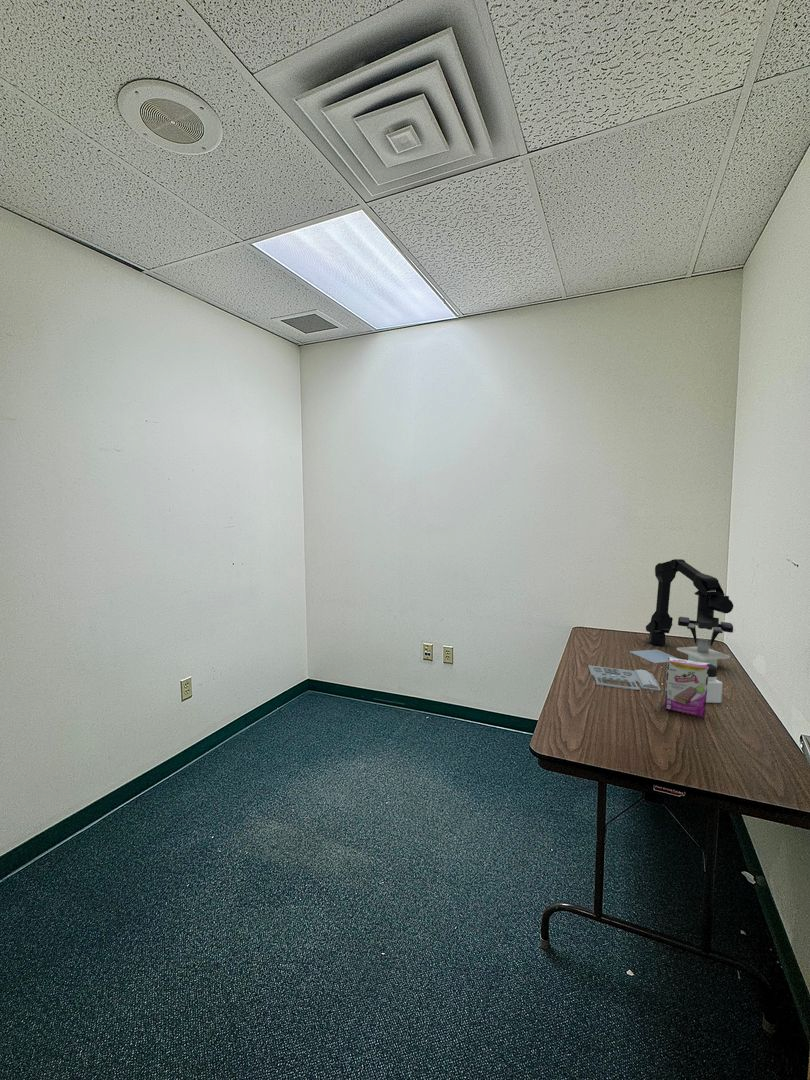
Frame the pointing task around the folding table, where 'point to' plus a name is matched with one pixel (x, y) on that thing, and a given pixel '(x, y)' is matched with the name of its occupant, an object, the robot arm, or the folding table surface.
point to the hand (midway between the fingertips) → (703, 644)
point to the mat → (653, 655)
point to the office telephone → (624, 678)
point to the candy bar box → (686, 686)
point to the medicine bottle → (713, 686)
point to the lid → (703, 651)
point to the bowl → (713, 662)
